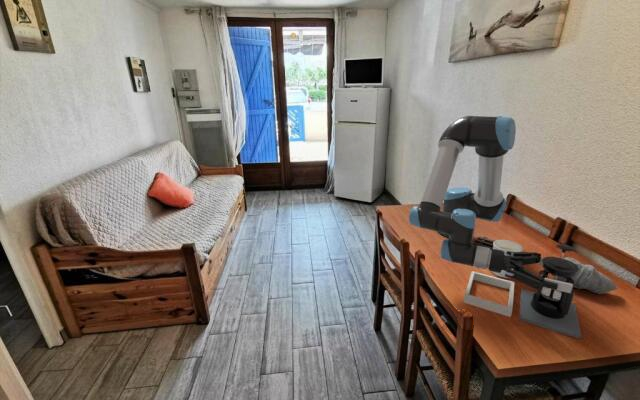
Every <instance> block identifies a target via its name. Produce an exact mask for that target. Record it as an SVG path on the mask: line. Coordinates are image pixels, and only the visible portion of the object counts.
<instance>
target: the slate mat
mask: <svg viewBox="0 0 640 400" xmlns="http://www.w3.org/2000/svg"><path fill="white" fill-rule="evenodd" d="M534 293H535V292H534V291H529V290H526V289H521V290H520V303H519V304H520V307H519V321H522V322H525V323H529V324H531V325H535V326H538V327H541V328H544V329H547V330H550V331H554V332H556V333H559V334H563V335H566V336H568V337H572V338H575V339H579V340H582V333H581V332H582V331H581V328H580V327H581V326H580V323H579V317H578V312H577V308H576V303H575V302H571V305H570V308H569V311H568V314H567V315H566V316H565V317H564V318H561V319H554V318H549V317H546V316H543V315H541V314H539V313H538V312H536V311H535V310H534V309H533V308H532V307H531V304H530V303H531V301H532V299H533V295H534ZM539 303H540V304H542V305H544V306H546V307H549V308H552V309H557V306H555V305H553V304H551V303H549V302H545V301H539Z"/></svg>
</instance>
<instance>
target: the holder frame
mask: <svg viewBox="0 0 640 400" xmlns="http://www.w3.org/2000/svg"><path fill="white" fill-rule="evenodd" d="M474 281H476V282H480V283H484V284H487V285H490V286H494V287H498V288H502V289H506V290H509V292H508V293H509V294H508V304H507V305H506V304H505V305H504V304H501V303H498V302H495V301H492V300H489V299H485V298H481V297H478V296H475V295H471V294H470V293H471V289H472V285H473V282H474ZM514 292H515V281H512V280H507V279H505V278H504V279H503V278H501V277H500V278H499V277H495V276H492V275H489V274H485V273H480V272H478V271H471V273H470V277H469V280H468V283H467V286H466V290H465V293H464V297H463V303H465V304H468V305H471V306H475V307H478V308H481V309H483V310H487V311H490V312H493V313H496V314H499V315H503V316H506V317H509V318H511V317H512V313H513V305H514Z"/></svg>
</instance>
